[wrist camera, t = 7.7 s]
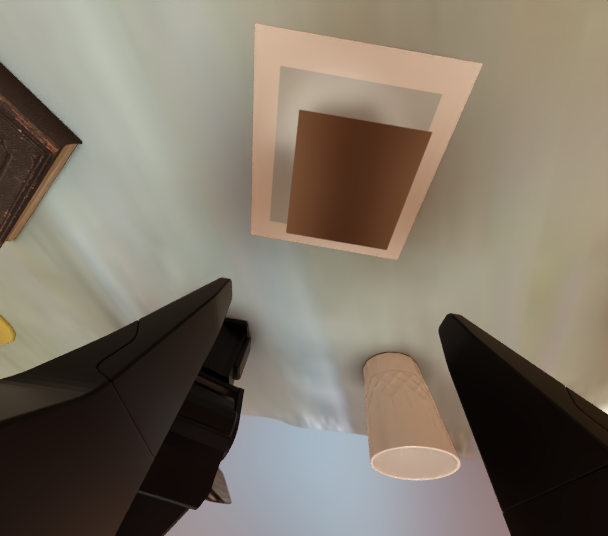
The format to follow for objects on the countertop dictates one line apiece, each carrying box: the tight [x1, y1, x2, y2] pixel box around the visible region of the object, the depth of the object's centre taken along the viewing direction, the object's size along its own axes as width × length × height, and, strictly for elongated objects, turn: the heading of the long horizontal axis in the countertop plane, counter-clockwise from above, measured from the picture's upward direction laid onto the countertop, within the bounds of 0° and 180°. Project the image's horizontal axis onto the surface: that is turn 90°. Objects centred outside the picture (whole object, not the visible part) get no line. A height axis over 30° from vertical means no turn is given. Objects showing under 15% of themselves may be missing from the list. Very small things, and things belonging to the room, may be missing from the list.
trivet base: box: [251, 24, 483, 260], centre depth 16 cm, size 12×12×3 cm
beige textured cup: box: [363, 353, 460, 480], centre depth 25 cm, size 8×8×10 cm
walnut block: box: [286, 109, 432, 250], centre depth 12 cm, size 5×5×6 cm
